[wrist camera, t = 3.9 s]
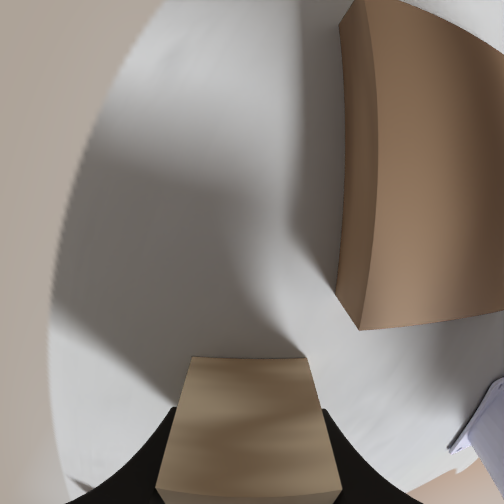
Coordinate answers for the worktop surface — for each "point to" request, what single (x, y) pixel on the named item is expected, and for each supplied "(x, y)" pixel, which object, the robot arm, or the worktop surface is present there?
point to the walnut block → (420, 169)
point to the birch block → (248, 436)
